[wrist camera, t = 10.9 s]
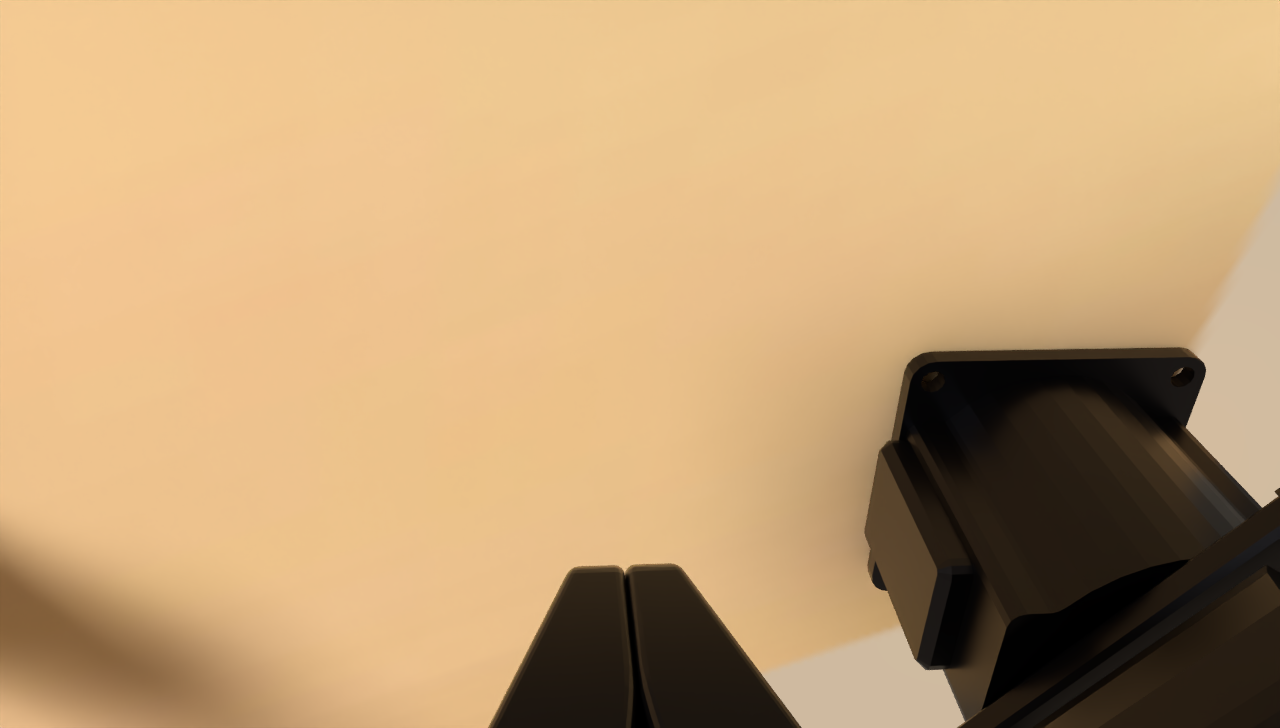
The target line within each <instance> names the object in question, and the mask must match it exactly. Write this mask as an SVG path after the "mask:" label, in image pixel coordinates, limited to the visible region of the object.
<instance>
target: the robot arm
mask: <svg viewBox="0 0 1280 728" xmlns="http://www.w3.org/2000/svg"><path fill="white" fill-rule="evenodd" d="M1183 367H1184V368H1183ZM1180 368H1183V370H1182V371H1181V372H1180V373H1179V374H1177V375H1176V376H1173V377H1172V375H1173V374H1174V372H1175V371H1177V370H1178V369H1180ZM935 371H936V372H939V373H938V374H937V376H936V377H935V378H934V379H933V380H931V381H928V382H922V379H923V377H924V376H926V375H927V374H928V373H931V372H935ZM1205 373H1206V368H1205V365H1204V363H1203V362H1202V361H1201V360H1200V359H1199V358H1198V357H1197V356H1196V355H1195V354H1194V353H1192V352H1191V351H1190V350H1188V349H1185V348H1129V349H1071V350H1012V351H953V352H928V353H922V354H920V355H918V356H917V357H915V358H913V359H912V360H911V362H910V363H909V364H908V365H907V367H906V369H905V372H904V377H903V382H902V387H901V392H900V397H899V403H898V408H897V413H896V418H895V424H894V429H893V434H892V439H891V441H888V442H886V444H885V445H884V446H883V447H882V448H881V449H880V451H879V455H878V460H877V466H876V471H875V477H874V482H873V488H872V493H871V498H870V504H869V509H868V515H867V520H866V526H865V536H866V539H867V541H868V544H869V546H870V549H871V550H870V555H869V560H868V572H869V575H870V577H871V580H872V582H873V584H874V585H875V587H877V588H879V589H881V590H885V591H888V594H889V596H890V599H891V601H892V604H893V606H894V609H895V611H896V614H897V616H898V619H899V621H900V624H901V626H902V629H903V631H904V634H905V636H906V639H907V641H908V644H909V646H910V648H911V651H912V654H913V656H914V658H915V660H916V661H917V662H918V663H919V664H920V665H921V666H922V667H923V668H924V669H925V670H939V669H943V671H944V673H945V676H946V678H947V680H948V683H949V685H950V687H951V689H952V692H953V694H954V697H955V699H956V701H957V704H958V706H959V708H960V711H961V713H962V715H963V718H964V720H965V722H964V723H963V724H961V725H960V726H959V727H957V728H1280V488H1279V489H1277V490H1276V491H1275V493H1276V494H1277V495H1278V497H1277V498H1276V499H1274V500H1273V501H1271V502H1270V503H1269V504H1267V505H1266V506H1264V507H1263V508H1262V507H1261V506H1260V505H1259V504H1258V503H1257V502H1256V501H1255V500H1254V499H1253V498H1252V497H1251V496H1250V495H1249V494H1248V492H1247V491H1246V490H1245V489H1244V488H1243V487H1242V486H1241V485H1240V484H1239V483H1238V482H1237V481H1236V480H1235V479H1234V478H1233V477H1232V476H1231V475H1230V474H1229V473H1228V472H1227V471H1226V470H1225V468H1224V467H1223V466H1222V465H1220V463H1219V462H1218V461H1217V460H1216V459H1215V458H1214V457H1213V456H1212V455H1211V454H1210V453H1209V452H1208V451H1207V450H1206V449H1205V448H1204V446H1202V444H1201V443H1200V442H1199V441H1198V440H1197V439H1196V438H1195V437H1194V436H1193V435H1192V434H1191V433H1190V432H1189V431H1188V430H1187V429H1186V425H1187V423H1188V420H1189V417H1190V414H1191V412H1192V409H1193V406H1194V404H1195V401H1196V399H1197V396H1198V393H1199V391H1200V388H1201V385H1202V383H1203V380H1204V377H1205ZM488 728H801V726H799V724H798V722H797V721H796V720H795V718H794V717H793V716H792V714H791V713H790V712H789V710H788V709H787V708H786V707H785V705H784V704H783V702H782V701H781V700H780V698H779V697H778V696H777V694H776V693H775V692H774V690H773V689H772V688H771V686H770V685H769V684H768V683H767V681H766V680H765V678H764V677H763V676H762V674H761V673H760V672H759V670H758V669H757V668H756V666H755V665H754V664H753V662H752V661H751V660H750V658H749V657H748V656H747V654H746V653H745V652H744V650H743V649H742V648H741V646H740V645H739V644H738V642H737V641H736V640H735V638H734V637H733V636H732V634H731V633H730V632H729V630H728V629H727V628H726V626H725V625H724V624H723V622H722V621H721V620H720V618H719V617H718V616H717V614H716V613H715V612H714V610H713V609H712V608H711V606H710V605H709V604H708V602H707V601H706V600H705V598H704V597H703V596H702V594H701V593H700V592H699V590H698V589H697V588H696V586H695V585H694V584H693V582H692V581H691V580H690V578H689V577H688V576H687V574H686V573H685V572H684V571H683V569H682V568H681V567H679V566H678V565H675V564H641V565H631V566H630V567H629V568H628V569H627V571H626V572H625V574H624V571H623V570H622V568H620V567H619V566H615V565H610V566H581V567H575V568H573V569H571V570H570V571H569V572H568V574H567V575H566V577H565V579H564V581H563V583H562V585H561V587H560V588H559V590H558V592H557V594H556V596H555V598H554V600H553V602H552V604H551V606H550V608H549V610H548V612H547V614H546V616H545V618H544V620H543V622H542V624H541V626H540V628H539V630H538V632H537V633H536V635H535V637H534V639H533V641H532V643H531V645H530V647H529V649H528V651H527V653H526V655H525V657H524V659H523V661H522V663H521V665H520V667H519V669H518V671H517V673H516V675H515V676H514V678H513V680H512V682H511V684H510V686H509V688H508V690H507V692H506V694H505V696H504V698H503V700H502V702H501V704H500V706H499V708H498V710H497V712H496V714H495V716H494V718H493V719H492V721H491V723H490V725H489V727H488Z"/></svg>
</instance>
